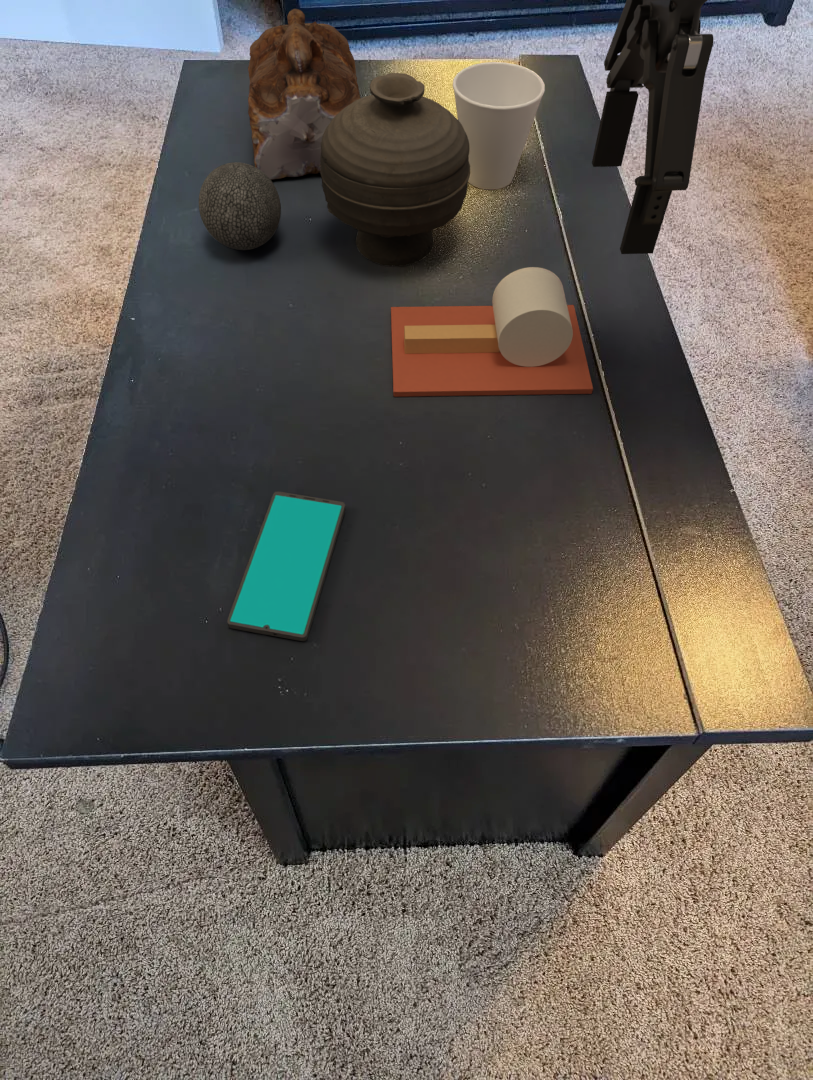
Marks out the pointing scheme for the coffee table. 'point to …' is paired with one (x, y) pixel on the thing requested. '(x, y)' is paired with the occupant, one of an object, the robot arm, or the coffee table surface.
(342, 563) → the coffee table surface
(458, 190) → the pot
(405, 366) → the mat
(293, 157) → the sculpture
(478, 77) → the cup
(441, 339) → the mallet
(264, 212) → the decorative ball
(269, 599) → the smartphone
